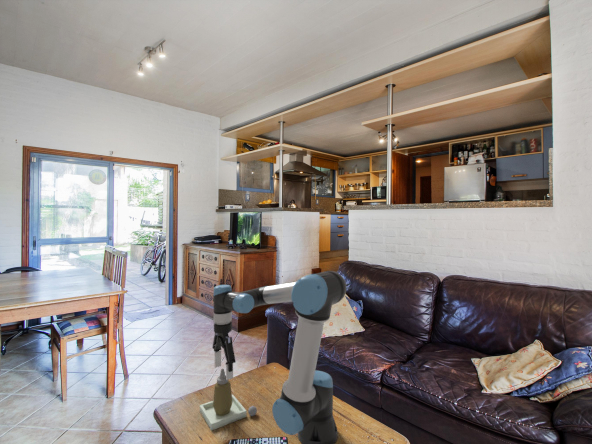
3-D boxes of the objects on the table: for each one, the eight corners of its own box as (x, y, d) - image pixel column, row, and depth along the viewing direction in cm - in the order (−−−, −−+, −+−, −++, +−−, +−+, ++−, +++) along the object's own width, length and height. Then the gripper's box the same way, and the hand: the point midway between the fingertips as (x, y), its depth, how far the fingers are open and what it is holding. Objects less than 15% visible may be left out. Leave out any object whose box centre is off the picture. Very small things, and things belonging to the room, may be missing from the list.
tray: (246, 416, 125) (246, 410, 125) (211, 430, 117) (211, 424, 117) (232, 399, 138) (232, 394, 138) (199, 411, 129) (199, 405, 129)
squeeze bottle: (230, 418, 123) (229, 374, 123) (210, 418, 123) (210, 374, 123) (234, 406, 131) (234, 364, 131) (216, 406, 131) (215, 364, 131)
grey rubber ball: (258, 415, 126) (258, 407, 126) (250, 419, 124) (250, 410, 124) (254, 411, 129) (254, 403, 129) (246, 414, 127) (246, 405, 127)
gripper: (243, 327, 120) (244, 381, 119) (220, 314, 140) (221, 359, 140) (225, 331, 115) (226, 387, 115) (204, 316, 136) (205, 364, 135)
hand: (223, 372), depth 127 cm, fingers open, 13 cm apart
